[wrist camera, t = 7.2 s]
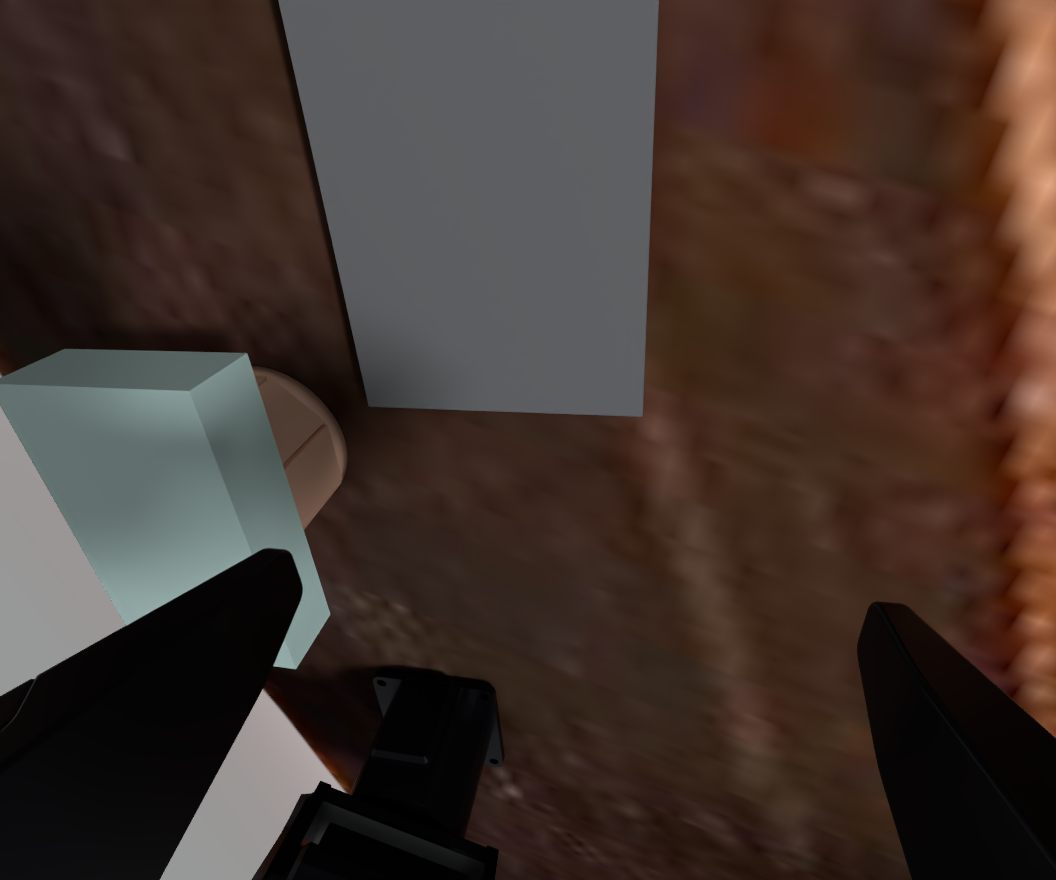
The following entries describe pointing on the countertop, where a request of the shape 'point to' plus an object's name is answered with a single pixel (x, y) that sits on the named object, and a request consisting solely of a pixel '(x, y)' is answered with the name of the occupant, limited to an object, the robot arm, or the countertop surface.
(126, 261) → the countertop surface
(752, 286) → the countertop surface
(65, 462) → the pale teal block
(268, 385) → the nut
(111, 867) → the robot arm
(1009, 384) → the countertop surface
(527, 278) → the mat
